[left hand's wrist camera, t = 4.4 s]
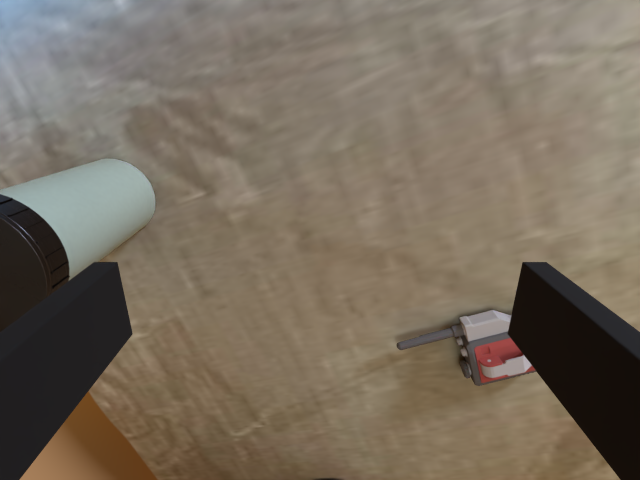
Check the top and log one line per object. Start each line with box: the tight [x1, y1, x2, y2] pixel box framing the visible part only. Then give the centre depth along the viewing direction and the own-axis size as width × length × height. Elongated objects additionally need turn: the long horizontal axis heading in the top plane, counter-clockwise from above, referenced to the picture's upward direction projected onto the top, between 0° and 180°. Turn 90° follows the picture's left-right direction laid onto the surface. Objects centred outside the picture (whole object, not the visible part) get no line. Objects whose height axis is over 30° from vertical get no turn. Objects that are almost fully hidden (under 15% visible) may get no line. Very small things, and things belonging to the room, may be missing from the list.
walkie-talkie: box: [397, 310, 536, 386], centre depth 44 cm, size 9×4×20 cm
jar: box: [0, 159, 156, 280], centre depth 32 cm, size 8×8×18 cm
